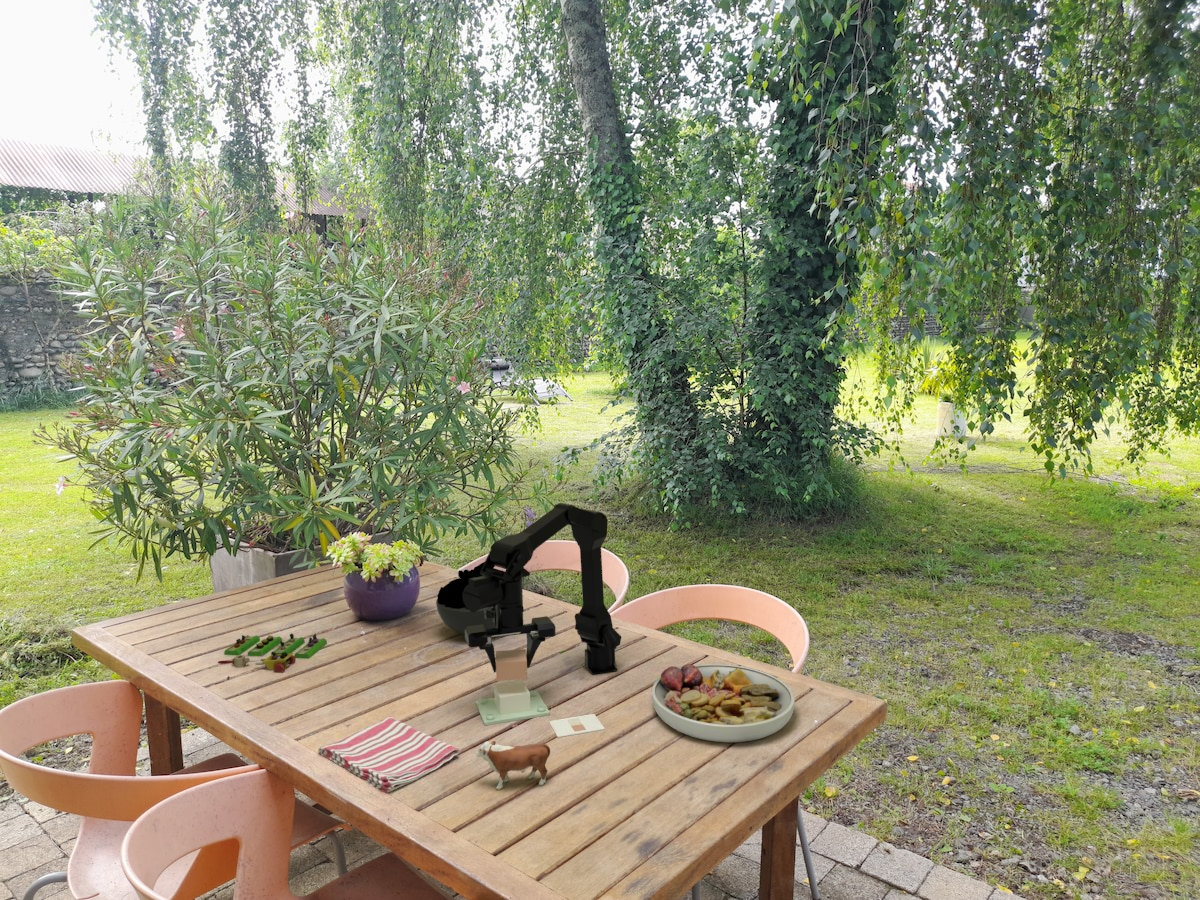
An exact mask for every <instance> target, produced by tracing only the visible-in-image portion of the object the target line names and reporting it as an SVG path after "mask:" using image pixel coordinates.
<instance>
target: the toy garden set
mask: <svg viewBox="0 0 1200 900" xmlns="http://www.w3.org/2000/svg"><path fill="white" fill-rule="evenodd" d="M294 636H295V635H294V634H293V633H290V634H289V639H287V640H286V641H285V642H284V641H283V638H282V637H281V636H273V635H268V636H267V637H266V638H263V639H262V640H261V638H260V637H259V635H249V634H247V635H244V634H242V635H241V638H238V639H236V642H235V643H234V644H232V645H230V646H229V647H228V648H225V649H224V652H223V653H224V656H234V657H233V659H231V660H229V659H228V660H219V661H217V663H218V664H232V665H233V666H234V668H236V669H238V668H240V669H241V668H243V667H246V665H247V664H248V663H250V662H252V663H254V662H255V666H263V665H264V666H265V667H266V669H268V670H269V672H270V671H271V672H272V671H273V672H274V673H275V674H283V673H284V672H285V671H286V668H288V667H289V666H290V665H294V664H295V663H296V661H297V659H303V660H305V659H306V660H309V659H311V658H312V657H313V656H314V655H316V653H318V652H319V651H320V650H322V648H324V647H325V646H326V645H328V641H327V639H326V638H324V637H322V638H318V637H317V634H316V633H314V634H313V636H312V637H309V639H308V642H307V644H305V642H306V641H305V640H306V639H305V638H303V637H301V636H300V637H294ZM303 644H305V645H304V646H302V645H303ZM253 646H255V647H253ZM277 646H278V647H277ZM301 646H302V647H301ZM252 647H253V648H252ZM276 647H277V648H276ZM300 647H301V648H300ZM251 648H252V649H251ZM275 648H276V649H275ZM298 648H300V649H299V650H298ZM273 649H274V650H273ZM247 650H249V651H248V652H247V657H246V656H245V655H244V653H245V652H246V651H247ZM296 650H298V651H296ZM270 651H271V652H270ZM295 651H296V652H295ZM269 652H270V655H269V656H268V657H267V658H261V659H260V661H258V662H256V660H251V659H250V658H249V657H263V656H266V655H267V654H268V653H269ZM293 652H295V653H293Z"/></svg>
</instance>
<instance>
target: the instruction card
mask: <svg viewBox="0 0 1200 900" xmlns="http://www.w3.org/2000/svg"><path fill="white" fill-rule="evenodd" d="M548 723H549V724H550V726H551V728H552V730H553V731H554V733H555V735H556V738H557V739H558V738H559V739H560V738H564V737H565V738H566V737H570V736H574V735H575V736H576V735H581V734H588V733H593V732H600V731H605V730H606V728H605V727H604V725H603V724H602V723H601V721H600V720H599V719H598V717H597V716H596V714H595V713H590V714H585V715H579V716H573V717H566V718H562V719H561V718H560V719H555V720H554V719H553V720H548Z"/></svg>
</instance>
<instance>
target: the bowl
mask: <svg viewBox="0 0 1200 900" xmlns="http://www.w3.org/2000/svg"><path fill="white" fill-rule="evenodd" d="M651 702H652V706H653V709H654V710H655V711H656V713H657V715H658V717H659V718H660V719H661V720H662V721H663V722H664V723H665V724H667V725H668V726H670V727H671V728H672V729H674V730H675V731H677V732H679V733H682V734H684V735H687V736H690V737H693V738H695V739H699V740H703V741H710V742H716V743H743V742H744V743H745V742H751V741H756V740H760V739H764V738H766V737H768V736H771V735H773V734H775V733H776V732H778V731H780V730H781V729H783V728H785V726H786V725H787V724H788V722H789V721H790V720H791V717H792V716H793V714H794V709H795V704H796V703H795V694H794V692H793V690H792V689H791V688H790V686H789V685H788V684H786V683H785V682H784V681H782V680H781V679H779V678H778V677H775V676H773V675H771V674H769V673H767V672H764V671H760V670H759V669H758V670H757V669H755V668H750V667H746V666H740V665H734V664H720V663H710V664H709V663H708V664H707V663H705V664H697V665H694V664H689V663H688V664H684V665H682V667H678V666H669V667H667V668H666V669H664V671H662V672H661V674H660V677H659V678H658V679H656V681H655V682H654V683H653V685H652V688H651Z"/></svg>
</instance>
